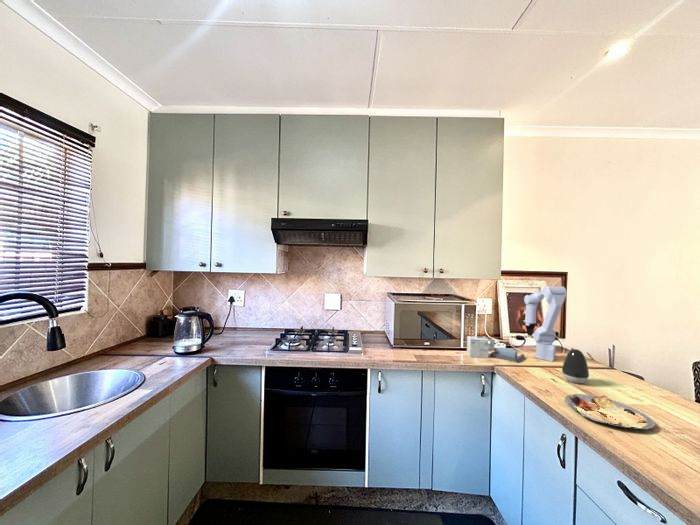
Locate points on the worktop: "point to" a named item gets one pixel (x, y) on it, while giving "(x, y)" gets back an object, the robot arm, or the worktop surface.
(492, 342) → the grey metal canister
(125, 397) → the worktop surface
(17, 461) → the worktop surface
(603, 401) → the food plate
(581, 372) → the dark grey rounded dome
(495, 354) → the display bay
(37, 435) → the worktop surface
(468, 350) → the light bulb box
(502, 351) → the carton
